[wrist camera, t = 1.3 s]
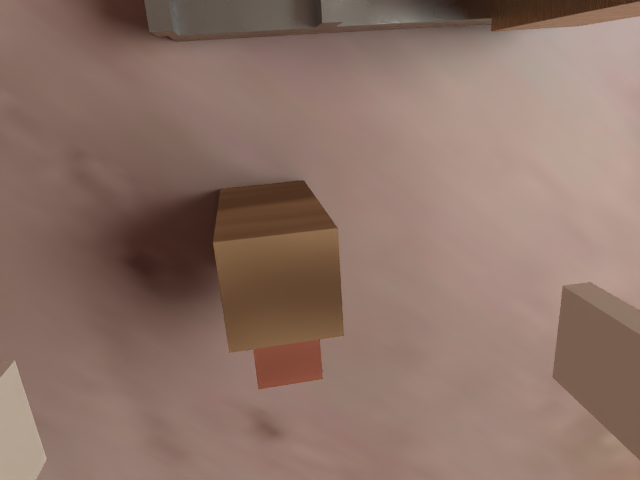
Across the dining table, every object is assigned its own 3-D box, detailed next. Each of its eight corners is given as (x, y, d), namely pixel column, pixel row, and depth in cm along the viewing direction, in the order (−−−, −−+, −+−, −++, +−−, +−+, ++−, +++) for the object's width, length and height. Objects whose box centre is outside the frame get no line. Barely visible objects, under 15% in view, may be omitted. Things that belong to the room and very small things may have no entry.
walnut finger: (220, 189, 22) (212, 242, 15) (303, 180, 23) (337, 228, 15) (235, 303, 24) (236, 401, 17) (312, 292, 25) (346, 383, 17)
